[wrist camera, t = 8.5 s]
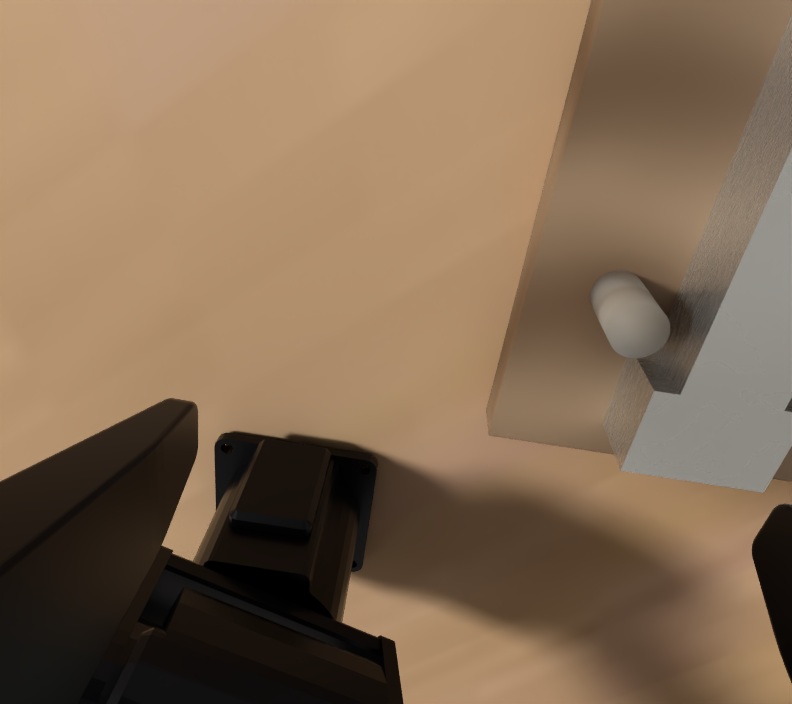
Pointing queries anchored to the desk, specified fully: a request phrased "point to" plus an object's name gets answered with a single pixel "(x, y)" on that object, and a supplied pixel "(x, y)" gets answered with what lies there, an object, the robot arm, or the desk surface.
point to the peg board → (626, 204)
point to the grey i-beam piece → (725, 326)
